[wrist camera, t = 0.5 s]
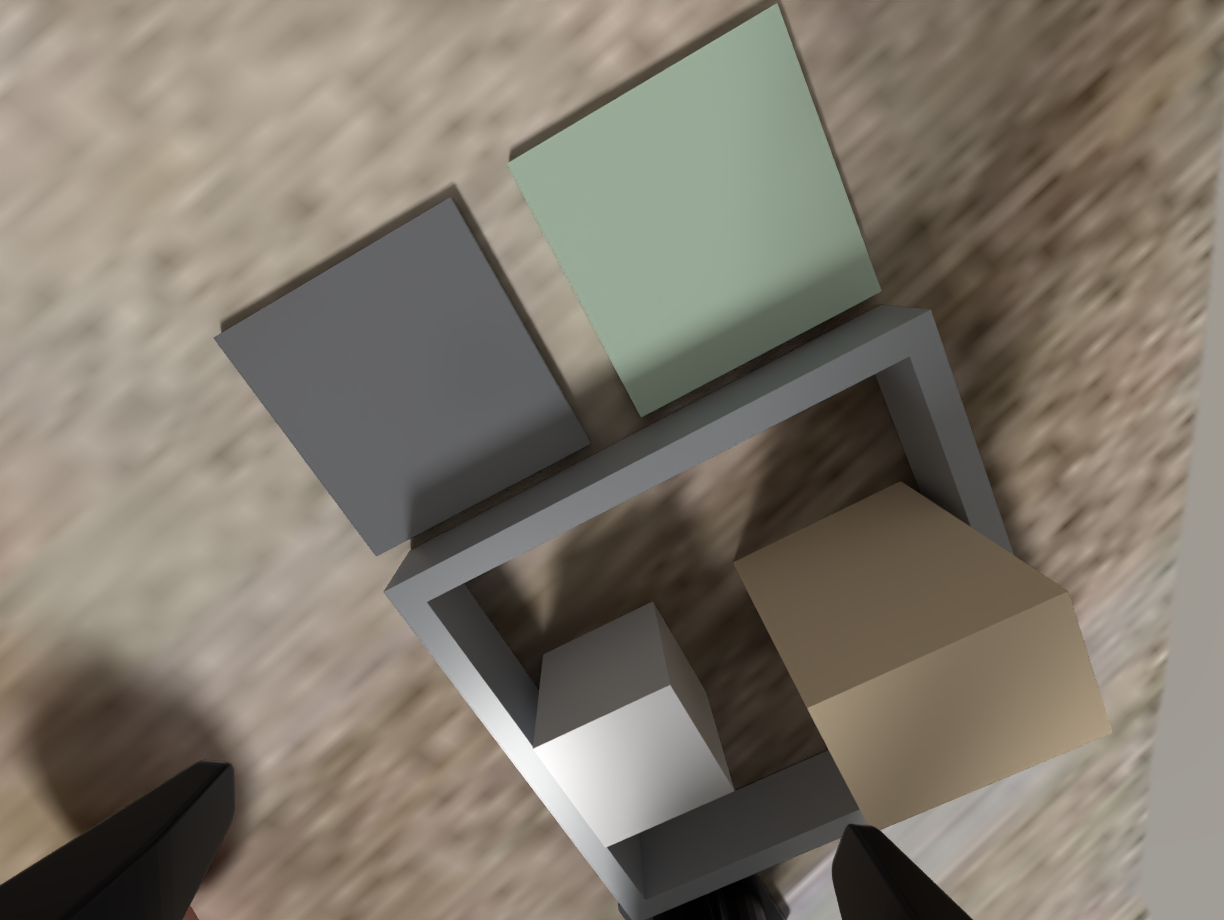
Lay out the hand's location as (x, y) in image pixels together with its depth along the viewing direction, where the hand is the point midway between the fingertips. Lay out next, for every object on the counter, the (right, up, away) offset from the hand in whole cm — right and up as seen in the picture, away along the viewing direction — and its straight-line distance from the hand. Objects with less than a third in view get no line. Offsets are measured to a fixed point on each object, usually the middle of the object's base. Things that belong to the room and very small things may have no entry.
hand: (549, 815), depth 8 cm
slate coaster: (-6, +8, +11) cm, 15 cm away
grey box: (+1, -4, +16) cm, 16 cm away
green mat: (+4, +13, +10) cm, 17 cm away
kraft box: (+10, +1, +14) cm, 18 cm away
